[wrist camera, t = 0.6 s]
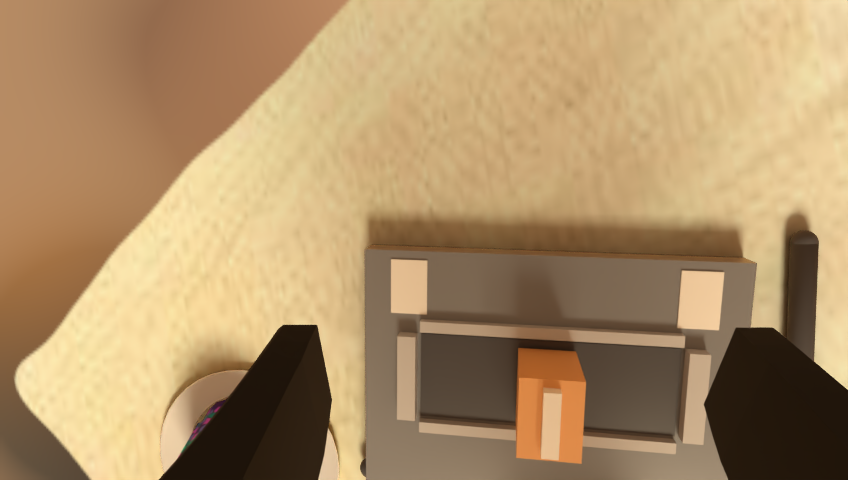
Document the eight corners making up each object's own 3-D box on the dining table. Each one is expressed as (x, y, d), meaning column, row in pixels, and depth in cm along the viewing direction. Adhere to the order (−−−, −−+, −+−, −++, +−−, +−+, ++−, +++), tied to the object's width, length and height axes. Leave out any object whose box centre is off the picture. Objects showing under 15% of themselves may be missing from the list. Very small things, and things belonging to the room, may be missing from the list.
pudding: (139, 475, 37) (80, 526, 32) (213, 330, 35) (162, 359, 30) (290, 573, 37) (254, 640, 32) (376, 431, 34) (352, 479, 29)
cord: (800, 503, 31) (812, 517, 29) (777, 502, 31) (787, 515, 30) (811, 228, 28) (824, 231, 27) (785, 229, 29) (797, 232, 28)
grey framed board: (719, 503, 31) (736, 531, 29) (372, 469, 34) (362, 492, 32) (743, 257, 29) (764, 266, 27) (371, 244, 32) (360, 251, 30)
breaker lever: (572, 422, 30) (583, 470, 25) (515, 418, 30) (516, 464, 26) (575, 351, 29) (587, 387, 25) (518, 347, 30) (519, 382, 25)
